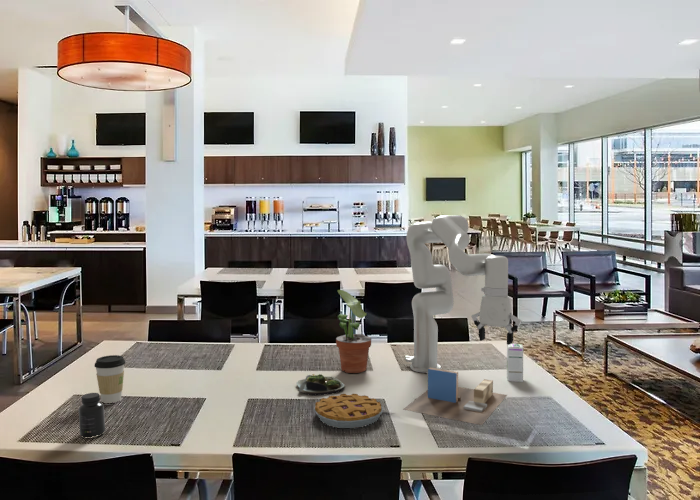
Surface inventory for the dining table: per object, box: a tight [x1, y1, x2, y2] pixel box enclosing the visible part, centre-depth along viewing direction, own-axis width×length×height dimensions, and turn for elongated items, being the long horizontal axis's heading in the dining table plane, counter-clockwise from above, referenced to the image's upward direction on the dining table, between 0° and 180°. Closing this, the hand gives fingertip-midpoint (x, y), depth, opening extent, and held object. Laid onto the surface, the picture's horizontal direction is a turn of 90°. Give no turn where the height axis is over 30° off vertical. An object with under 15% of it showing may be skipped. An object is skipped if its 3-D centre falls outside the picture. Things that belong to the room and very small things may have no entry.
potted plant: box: [335, 289, 372, 374], centre depth 226 cm, size 16×15×35 cm
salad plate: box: [296, 373, 346, 396], centre depth 209 cm, size 19×18×5 cm
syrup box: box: [506, 343, 524, 383], centre depth 212 cm, size 6×6×14 cm
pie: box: [313, 393, 384, 429], centre depth 179 cm, size 22×22×5 cm
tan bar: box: [464, 378, 494, 412], centre depth 188 cm, size 18×6×5 cm, turn 150°
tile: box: [427, 368, 459, 403], centre depth 190 cm, size 10×2×10 cm, turn 60°
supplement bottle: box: [78, 392, 106, 437], centre depth 166 cm, size 7×7×12 cm
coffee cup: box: [94, 354, 126, 403], centre depth 193 cm, size 10×10×15 cm
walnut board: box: [402, 386, 508, 426], centre depth 188 cm, size 26×30×2 cm
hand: (495, 341), depth 192 cm, fingers open, 9 cm apart
